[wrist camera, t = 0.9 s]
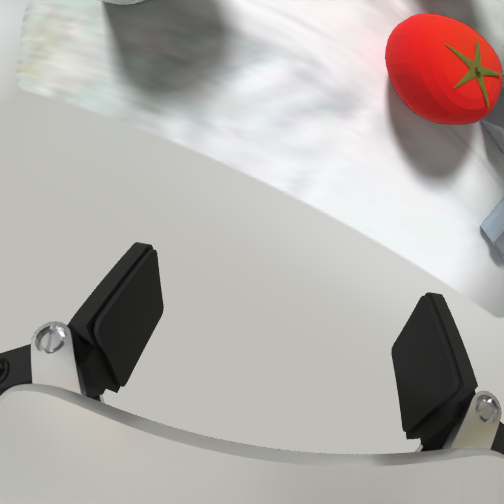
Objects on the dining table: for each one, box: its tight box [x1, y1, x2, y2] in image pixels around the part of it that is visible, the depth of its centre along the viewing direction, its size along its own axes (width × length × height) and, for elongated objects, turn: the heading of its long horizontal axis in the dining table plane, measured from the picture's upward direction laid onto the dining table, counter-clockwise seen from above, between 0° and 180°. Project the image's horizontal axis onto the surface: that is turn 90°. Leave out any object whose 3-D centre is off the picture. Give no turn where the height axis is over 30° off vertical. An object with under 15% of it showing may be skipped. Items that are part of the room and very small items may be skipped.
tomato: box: [385, 14, 504, 125], centre depth 19 cm, size 11×11×13 cm
